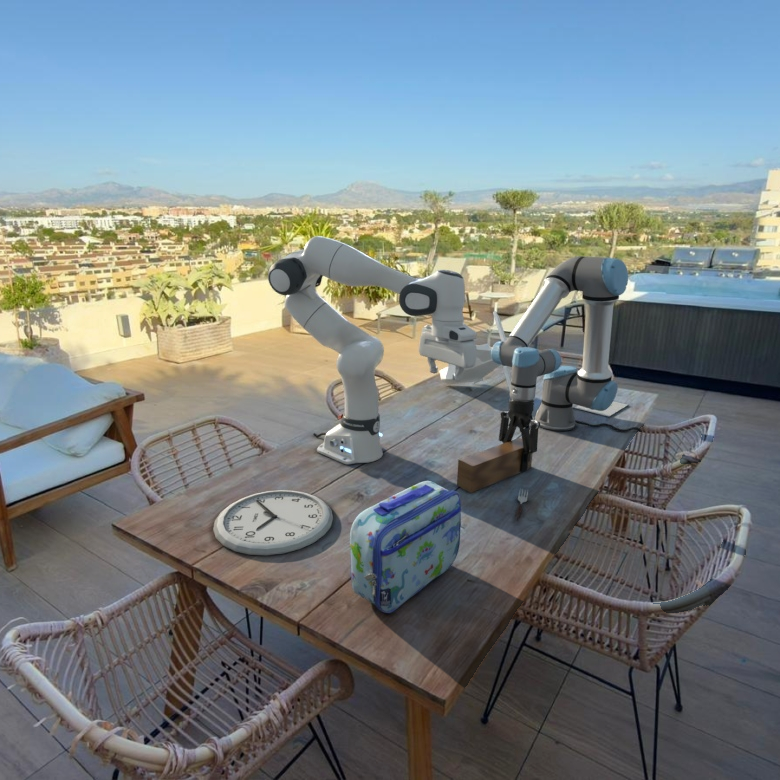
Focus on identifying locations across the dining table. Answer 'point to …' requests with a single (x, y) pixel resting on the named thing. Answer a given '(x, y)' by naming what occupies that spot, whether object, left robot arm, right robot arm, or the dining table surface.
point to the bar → (490, 465)
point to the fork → (521, 499)
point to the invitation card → (609, 411)
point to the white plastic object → (478, 363)
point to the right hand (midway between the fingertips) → (515, 467)
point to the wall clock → (273, 522)
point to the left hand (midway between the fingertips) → (444, 376)
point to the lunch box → (404, 544)
